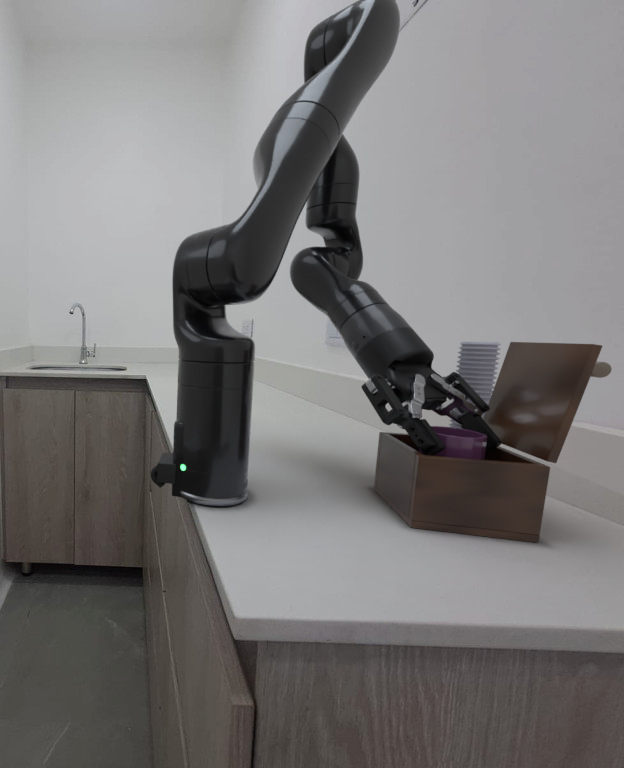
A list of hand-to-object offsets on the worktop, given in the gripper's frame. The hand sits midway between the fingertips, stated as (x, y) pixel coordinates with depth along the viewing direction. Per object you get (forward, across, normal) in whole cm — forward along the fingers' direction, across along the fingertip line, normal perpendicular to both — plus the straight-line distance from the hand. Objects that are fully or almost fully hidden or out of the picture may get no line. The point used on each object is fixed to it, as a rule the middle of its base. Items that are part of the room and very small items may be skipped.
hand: (465, 450), depth 45 cm
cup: (+4, 0, +6) cm, 7 cm away
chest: (+5, 0, +7) cm, 8 cm away
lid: (-3, +5, -6) cm, 9 cm away
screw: (0, +12, +11) cm, 16 cm away
